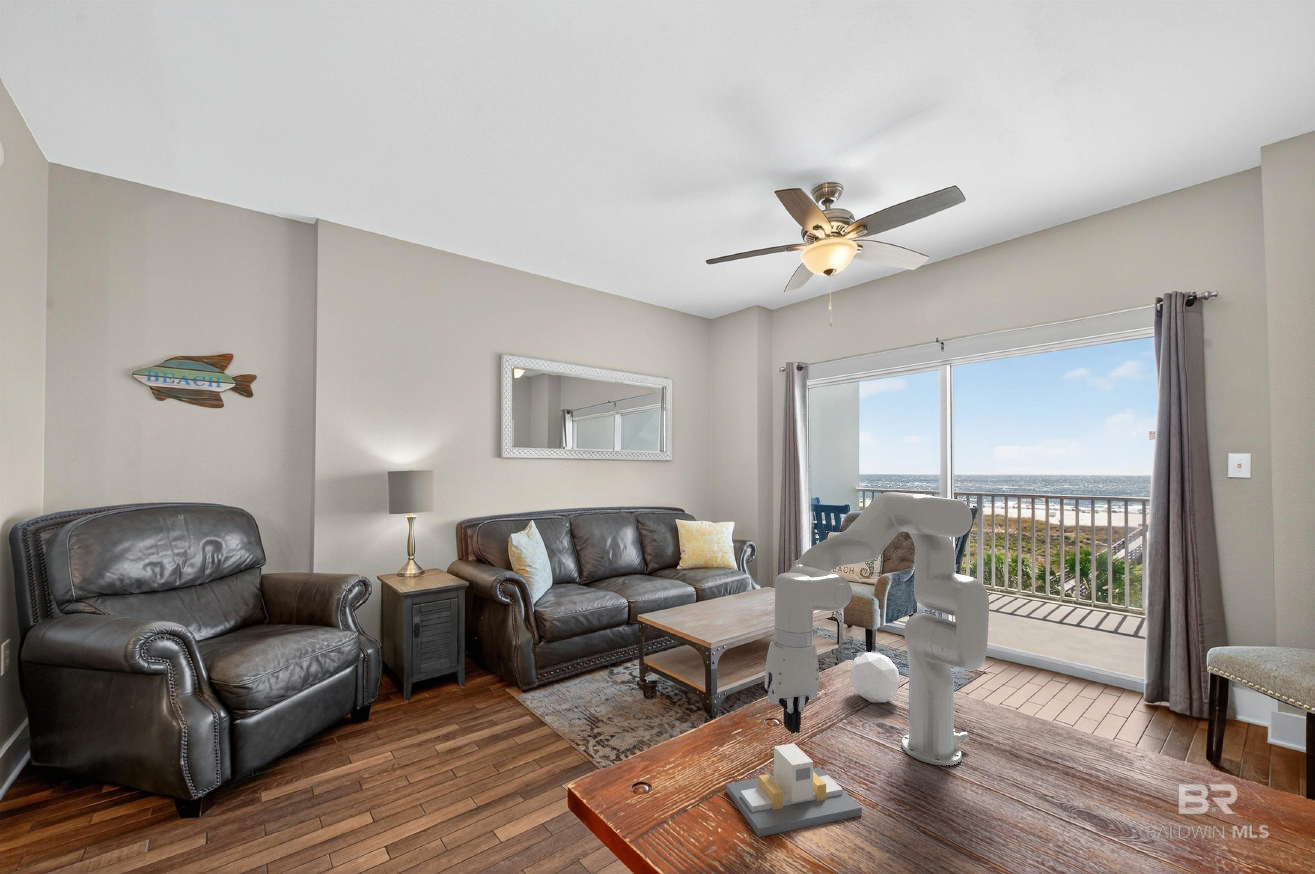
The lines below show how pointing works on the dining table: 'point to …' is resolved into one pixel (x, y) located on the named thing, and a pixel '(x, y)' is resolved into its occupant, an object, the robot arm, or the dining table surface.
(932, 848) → the dining table surface
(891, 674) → the geodesic sphere
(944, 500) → the robot arm
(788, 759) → the block
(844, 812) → the rail board
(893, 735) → the dining table surface
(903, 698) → the dining table surface
